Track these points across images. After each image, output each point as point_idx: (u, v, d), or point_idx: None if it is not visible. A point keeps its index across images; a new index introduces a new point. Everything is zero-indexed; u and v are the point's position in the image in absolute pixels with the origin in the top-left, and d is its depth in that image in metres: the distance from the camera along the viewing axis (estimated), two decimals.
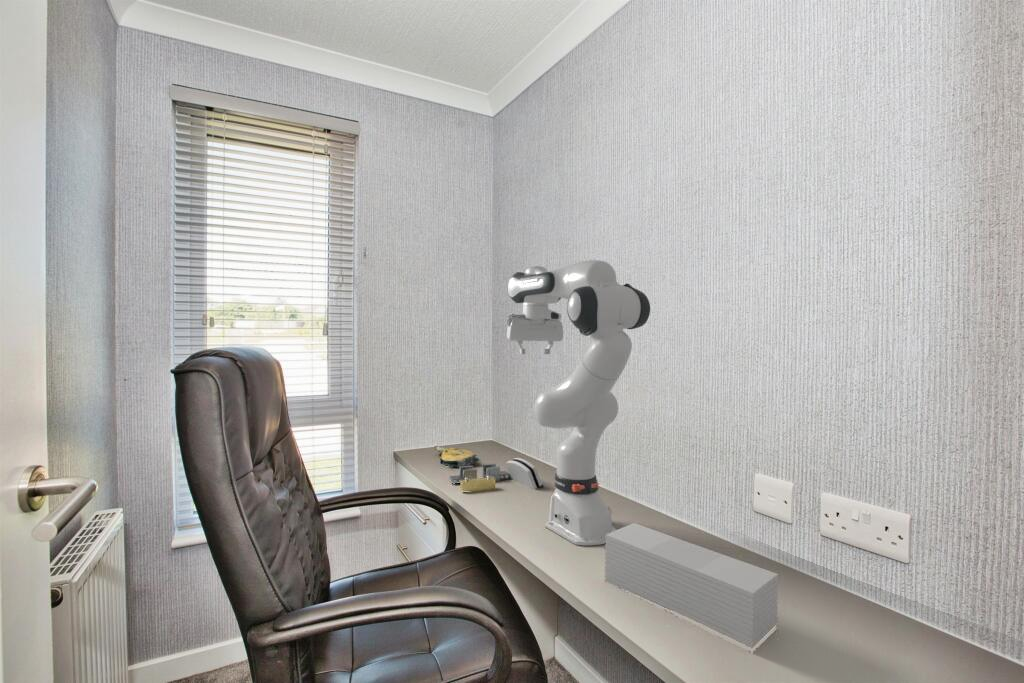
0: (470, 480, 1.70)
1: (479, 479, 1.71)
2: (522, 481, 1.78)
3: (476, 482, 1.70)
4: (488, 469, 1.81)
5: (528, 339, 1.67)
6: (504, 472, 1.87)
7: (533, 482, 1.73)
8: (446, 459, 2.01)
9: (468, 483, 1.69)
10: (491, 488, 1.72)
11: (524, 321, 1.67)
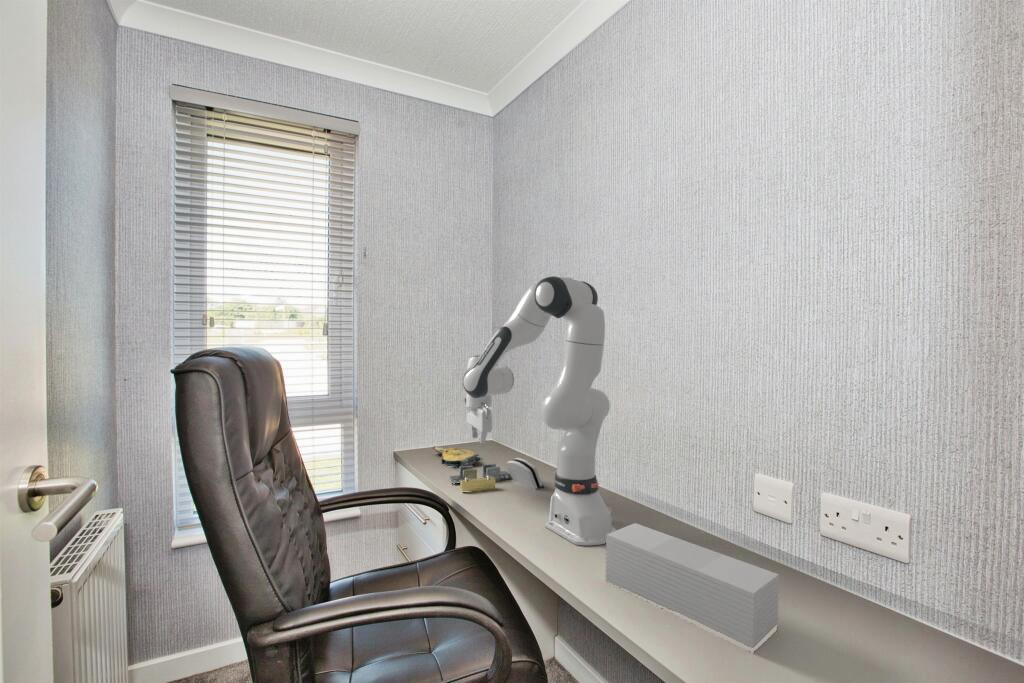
0: (470, 480, 1.70)
1: (479, 479, 1.71)
2: (523, 481, 1.78)
3: (476, 482, 1.70)
4: (488, 469, 1.81)
5: None
6: (504, 472, 1.87)
7: (534, 482, 1.73)
8: (448, 459, 2.01)
9: (468, 483, 1.69)
10: (491, 488, 1.72)
11: None
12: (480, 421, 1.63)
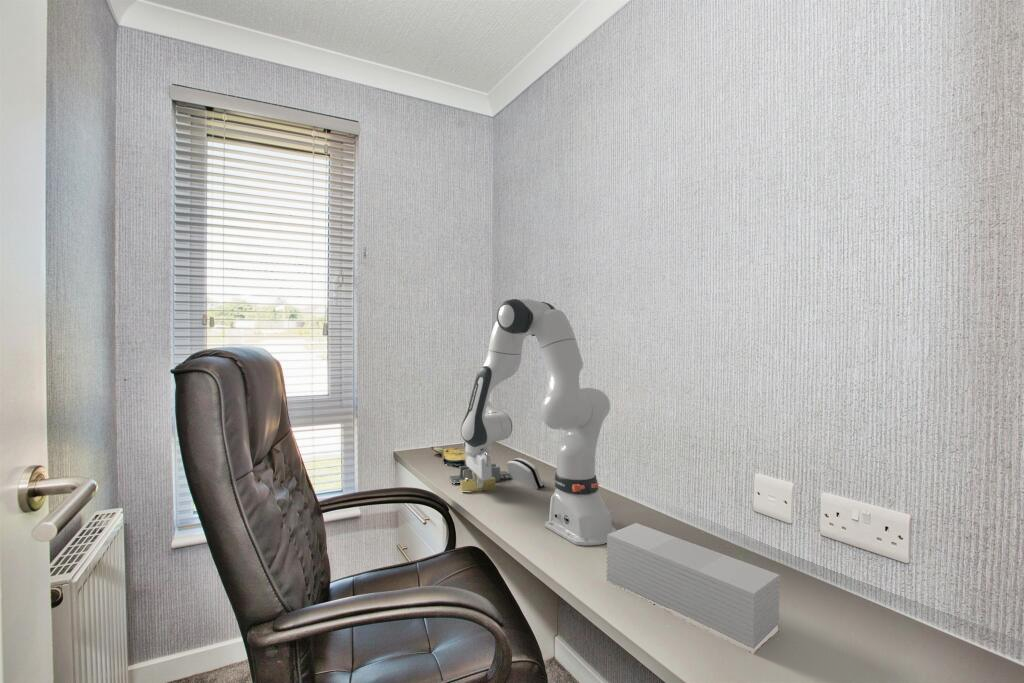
0: (470, 480, 1.70)
1: None
2: (523, 481, 1.78)
3: (476, 482, 1.70)
4: None
5: None
6: (504, 472, 1.87)
7: (534, 482, 1.73)
8: (451, 459, 2.02)
9: (468, 483, 1.69)
10: (491, 488, 1.72)
11: None
12: (479, 468, 1.63)
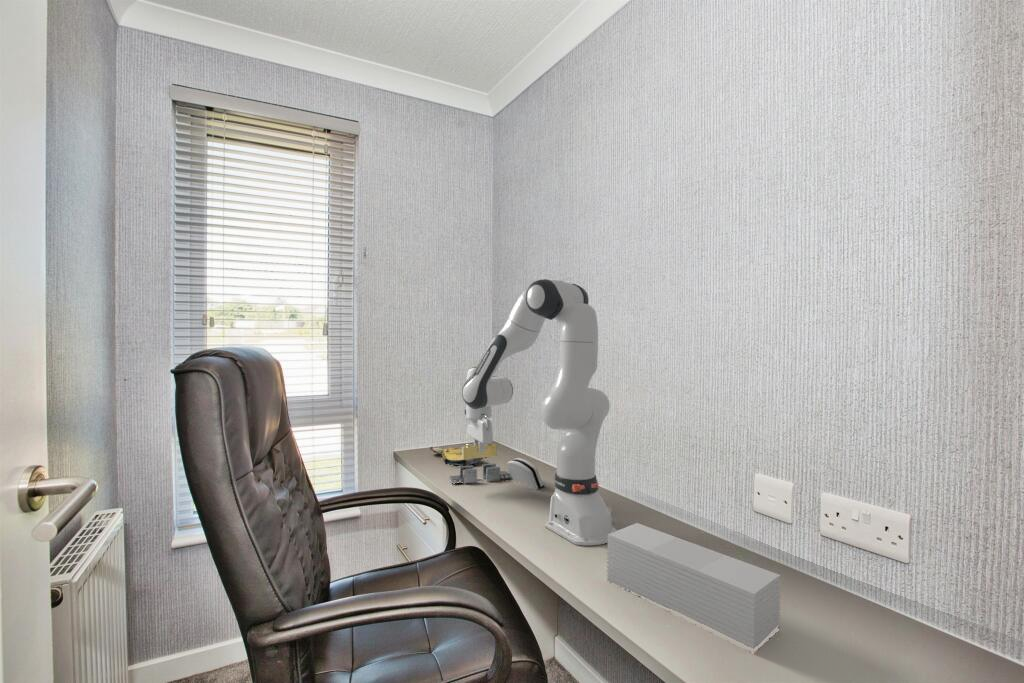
0: (471, 446, 1.69)
1: None
2: (523, 481, 1.78)
3: (477, 448, 1.69)
4: (488, 469, 1.81)
5: None
6: (504, 472, 1.87)
7: (534, 482, 1.73)
8: (453, 459, 2.02)
9: (469, 449, 1.68)
10: (493, 454, 1.71)
11: None
12: (480, 432, 1.63)
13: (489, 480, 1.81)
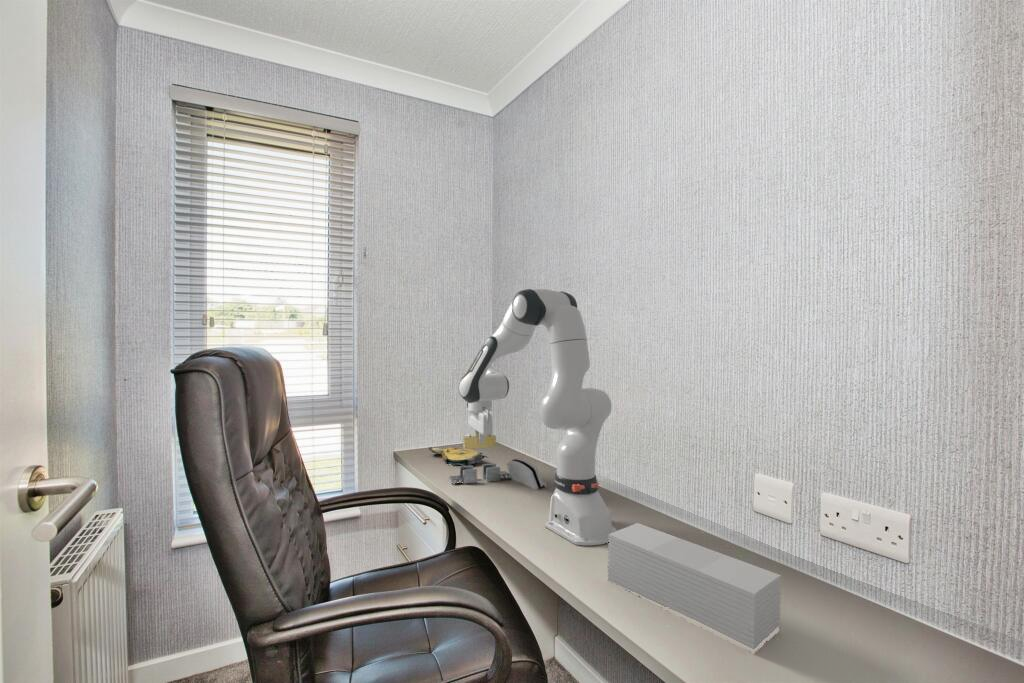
0: (472, 436, 1.82)
1: None
2: (523, 482, 1.78)
3: (478, 438, 1.81)
4: (488, 469, 1.81)
5: None
6: (504, 472, 1.87)
7: (535, 482, 1.73)
8: (455, 459, 2.02)
9: (470, 439, 1.80)
10: (492, 444, 1.83)
11: None
12: (481, 424, 1.75)
13: (489, 480, 1.81)
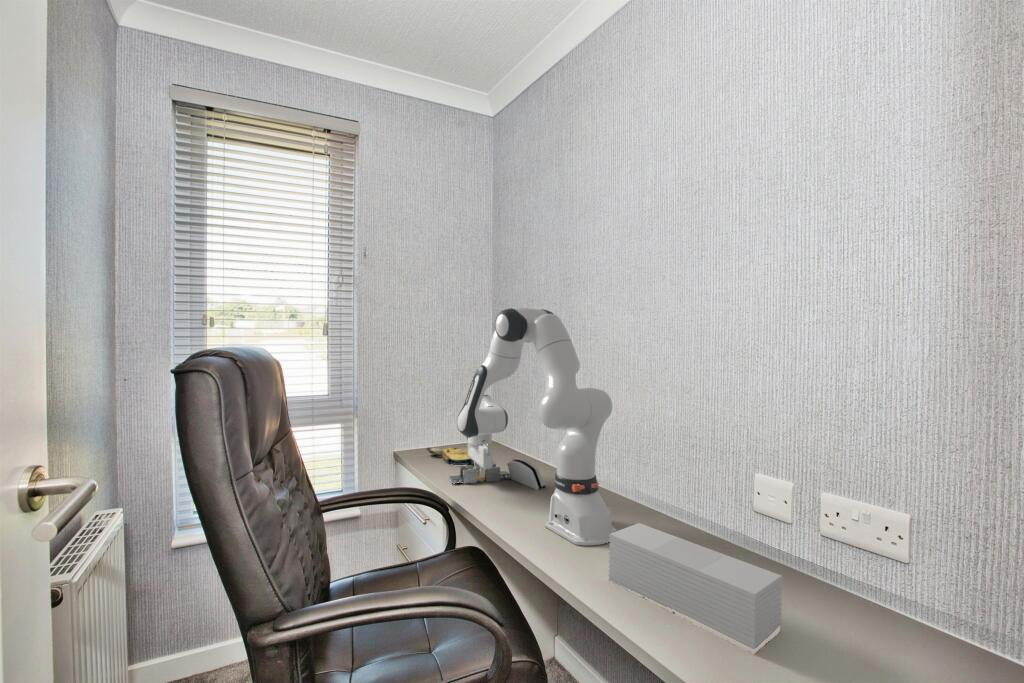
0: None
1: None
2: (524, 482, 1.78)
3: (478, 473, 1.81)
4: (488, 469, 1.81)
5: None
6: (504, 472, 1.87)
7: (535, 482, 1.73)
8: (458, 458, 2.03)
9: None
10: None
11: None
12: (481, 458, 1.75)
13: (489, 480, 1.81)
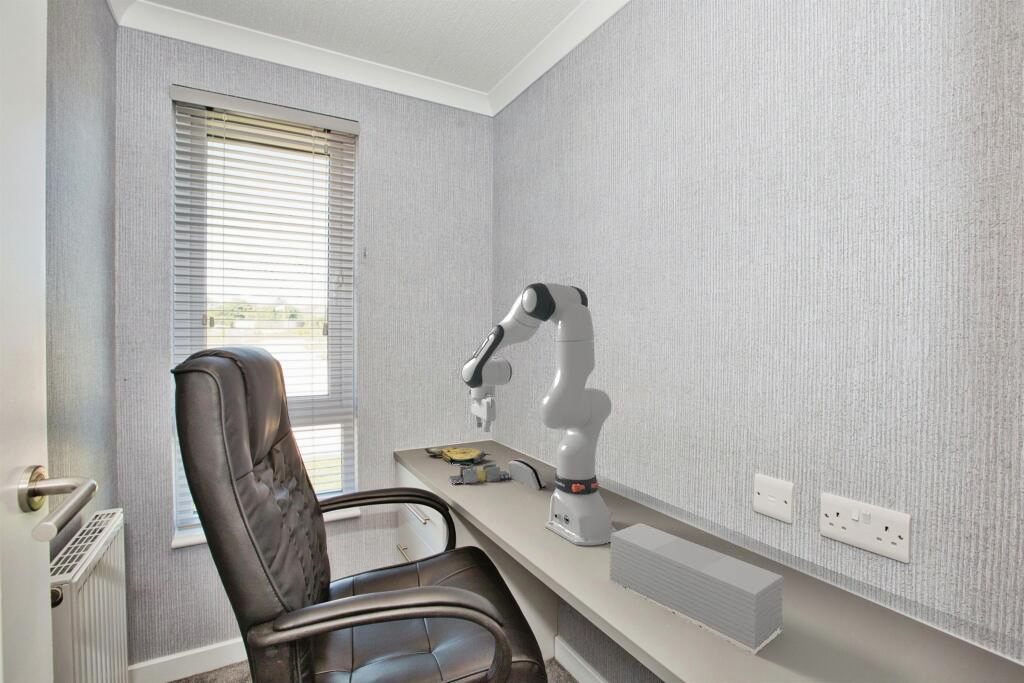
0: None
1: (481, 470, 1.83)
2: (525, 482, 1.78)
3: (478, 473, 1.81)
4: (488, 469, 1.81)
5: None
6: (504, 472, 1.87)
7: (536, 483, 1.73)
8: (460, 458, 2.03)
9: None
10: None
11: None
12: (484, 410, 1.74)
13: (489, 480, 1.81)
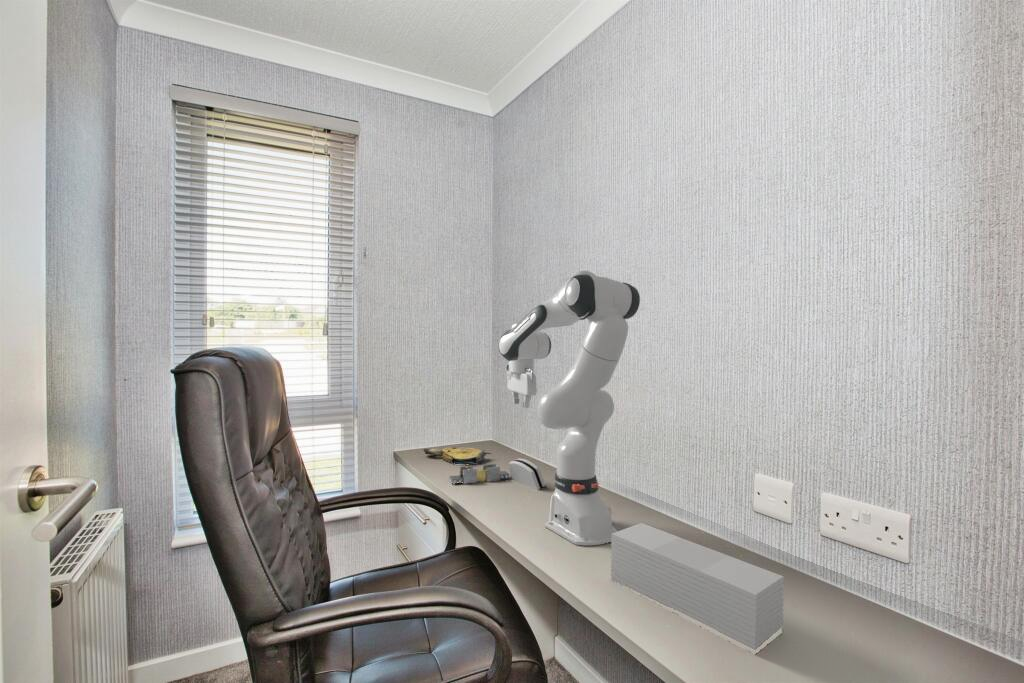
0: None
1: (481, 470, 1.83)
2: (525, 482, 1.77)
3: (478, 473, 1.81)
4: (488, 469, 1.81)
5: None
6: (504, 472, 1.87)
7: (536, 483, 1.72)
8: (463, 457, 2.04)
9: None
10: None
11: None
12: (525, 385, 1.68)
13: (489, 480, 1.81)
